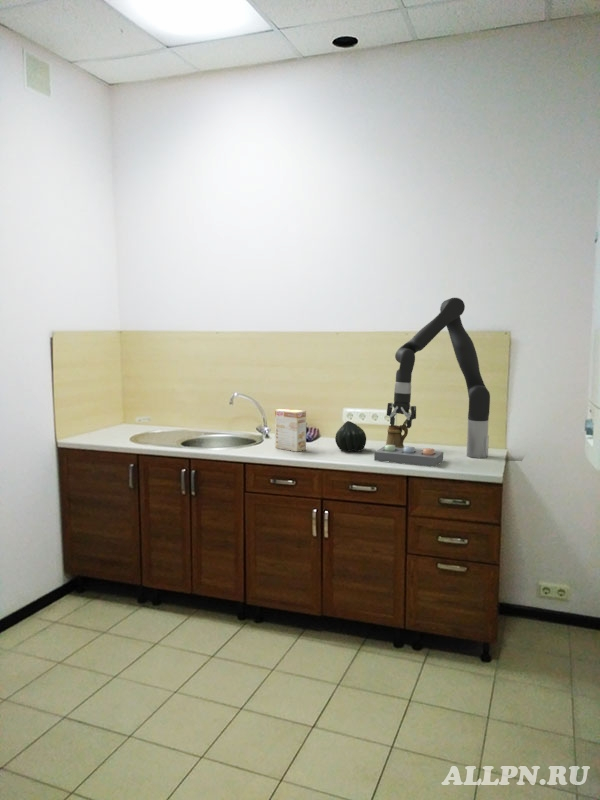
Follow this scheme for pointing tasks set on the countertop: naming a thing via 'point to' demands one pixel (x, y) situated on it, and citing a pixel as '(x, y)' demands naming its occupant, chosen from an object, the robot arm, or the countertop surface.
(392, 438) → the wooden mug
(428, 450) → the terracotta button
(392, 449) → the sage button
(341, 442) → the squash
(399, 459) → the button panel
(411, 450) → the slate button
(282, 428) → the coffeecake box
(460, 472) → the countertop surface
